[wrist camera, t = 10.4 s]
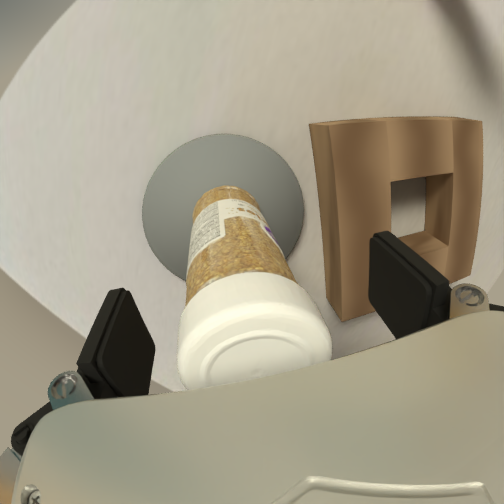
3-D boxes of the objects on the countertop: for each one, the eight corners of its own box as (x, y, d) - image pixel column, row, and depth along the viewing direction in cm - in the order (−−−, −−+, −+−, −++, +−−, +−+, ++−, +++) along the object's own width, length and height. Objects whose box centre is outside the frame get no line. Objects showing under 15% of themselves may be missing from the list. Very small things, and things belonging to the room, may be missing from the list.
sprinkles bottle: (273, 215, 20) (363, 358, 8) (226, 260, 21) (256, 431, 9) (224, 168, 18) (262, 274, 6) (176, 219, 19) (143, 380, 7)
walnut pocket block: (454, 117, 19) (482, 121, 16) (449, 259, 26) (470, 275, 23) (308, 123, 19) (328, 125, 16) (326, 297, 25) (341, 321, 22)
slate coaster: (288, 120, 18) (291, 120, 18) (307, 264, 23) (310, 269, 23) (126, 157, 18) (123, 158, 17) (170, 296, 23) (169, 302, 22)
